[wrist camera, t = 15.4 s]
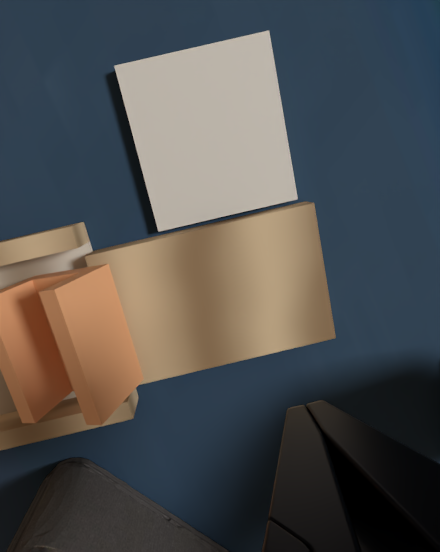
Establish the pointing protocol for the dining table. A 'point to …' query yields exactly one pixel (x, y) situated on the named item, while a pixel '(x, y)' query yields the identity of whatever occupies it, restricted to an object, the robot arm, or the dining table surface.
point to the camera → (100, 517)
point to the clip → (67, 344)
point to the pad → (209, 130)
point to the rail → (187, 299)
